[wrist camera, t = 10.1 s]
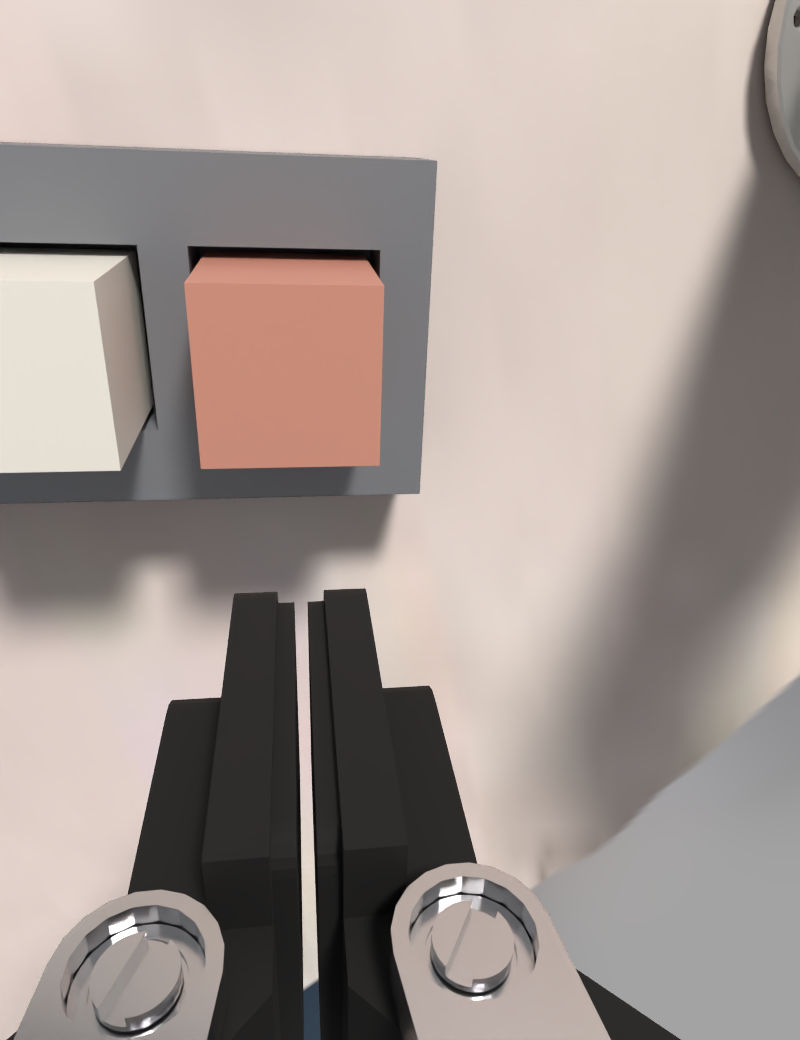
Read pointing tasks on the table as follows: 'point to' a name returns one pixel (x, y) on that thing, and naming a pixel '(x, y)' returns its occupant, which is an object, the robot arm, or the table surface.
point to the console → (230, 228)
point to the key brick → (286, 359)
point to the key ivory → (71, 359)
